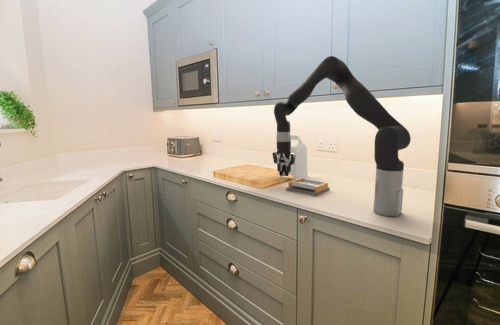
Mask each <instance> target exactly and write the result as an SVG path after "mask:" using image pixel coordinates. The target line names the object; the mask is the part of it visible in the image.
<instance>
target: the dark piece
mask: <svg viewBox="0 0 500 325" xmlns="http://www.w3.org/2000/svg"><path fill="white" fill-rule="evenodd" d="M287 160H289V159H287ZM279 162H281V169H280V171H279V172H278V173H277V174H276V175H277V176H280V177H281V176H288V175H289V173H287V164H286V162H285V160H284V158H281V159H279Z"/></svg>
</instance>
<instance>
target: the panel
mask: <svg viewBox="0 0 500 325" xmlns="http://www.w3.org/2000/svg"><path fill="white" fill-rule="evenodd" d="M292 181H293V182H300V181H301V178H299V179H296V180H293V179H292V180H291V181H288V183H287V184H288V185H287V187H286V188H285V190H286V191H288V192H293V193H299V194H303V195H307V196H308V195H309V196H314V197H318V196H319V195H322V194H324V193H326V192H329V191H330V189H331V188H330V187H328V186H329V182H325V183H323V184H321V185H318V186H316V187H315V190H313V189H307V188H302V187H297V186H291V182H292Z"/></svg>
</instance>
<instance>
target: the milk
mask: <svg viewBox="0 0 500 325" xmlns="http://www.w3.org/2000/svg"><path fill="white" fill-rule="evenodd" d="M300 137H301V136H300V135H299V134H291V149H290V151H291V153H293V154H296V156H295V162H294V164H293V165H291V171H290V172H289V174H291V175H292V176H293V179H292V181H293V180H296V179H299V178H305V179H306V178H308V174H309V172H308V156H307V155H308V151H307V146H306V144H305V142H303V141H302V140H301V138H300ZM289 157H290V156H289ZM290 159H291V157H290Z"/></svg>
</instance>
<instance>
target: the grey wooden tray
mask: <svg viewBox="0 0 500 325" xmlns="http://www.w3.org/2000/svg"><path fill="white" fill-rule="evenodd" d="M291 181H292V182H291V186H297V187H302V188H307V189H313V190H315V187H316V186H318V185H321V184H323V183H326V182H325V181H323V180H316V179H311V178H306V177H305V178H301V181H300V182H293V180H291Z"/></svg>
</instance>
